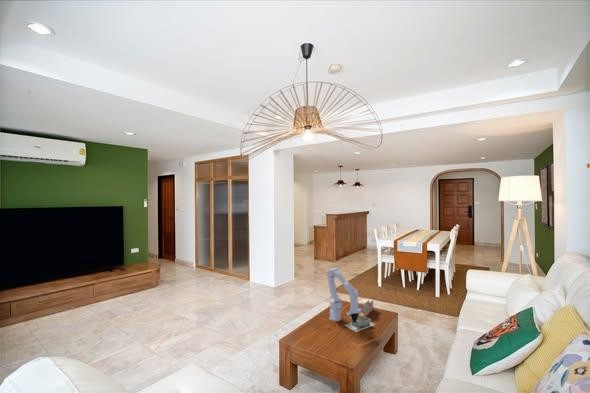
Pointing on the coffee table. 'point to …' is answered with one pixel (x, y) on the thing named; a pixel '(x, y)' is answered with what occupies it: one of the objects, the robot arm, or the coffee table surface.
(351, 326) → the track board
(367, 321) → the grey storage bin
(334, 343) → the coffee table surface
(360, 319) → the maple block
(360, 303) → the multicoloured piece
